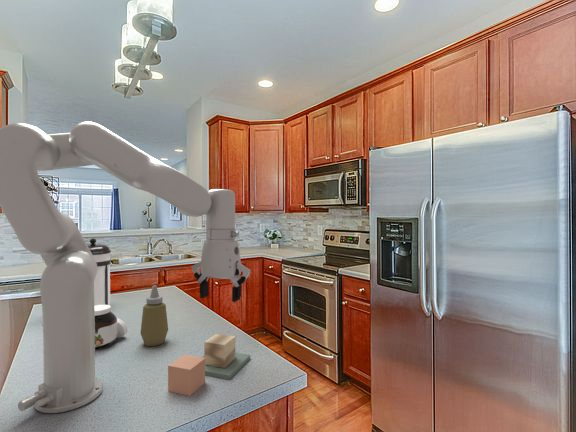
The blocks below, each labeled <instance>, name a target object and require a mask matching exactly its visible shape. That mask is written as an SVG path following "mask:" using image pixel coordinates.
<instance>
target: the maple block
mask: <svg viewBox="0 0 576 432" xmlns="http://www.w3.org/2000/svg"><path fill="white" fill-rule="evenodd" d="M203 343H204V344H203V346H204V349H203V350H204V354H203V355H204V358H205V365H210V366H216V367H221V368H225V367H226V366H227V365H228V364H229V363H231V362H232V361H233V360H234V359H235V353H236V336H234V335H227V334H222V333H221V334H220V333H216V334H214V335H213V336H211V337H209V338H208V339H206V340H205V341H204V342H203Z"/></svg>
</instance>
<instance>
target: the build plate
mask: <svg viewBox="0 0 576 432" xmlns="http://www.w3.org/2000/svg"><path fill="white" fill-rule="evenodd" d="M201 358H204V356H202V357H201ZM250 359H251V354H246V353H241V352H240V353H239V352H235V359H234V360H233V361H232V362H231V363H229V364H228V365H227V366H226V367H225V368H221V367H216V366H210V365H205V376H207V377H208V376H209V377H214V378H220V379H225V380H231V379H232V378H233V376H235V374H237V373H238V371H239V370H240V369H242V367H243V366H244V365H246V363H248V361H249V360H250Z"/></svg>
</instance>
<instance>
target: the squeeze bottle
mask: <svg viewBox="0 0 576 432" xmlns="http://www.w3.org/2000/svg"><path fill="white" fill-rule="evenodd" d="M163 297H164V296H162V295H160V294H159V291H158V286H157V284H156V285H152V287H151V291H150V294H149V296H147V297H146V304H145V305H144V306H142V316H141V323H140V325H141V326H140V336H141V338H142V341H143V344H144V345H145V346H147V347H156V346H159V345H162V344H163V343H165V341H166V338H167V335H168V332H169V323H168V315H167V306H166V304H165V303H164V302H163Z"/></svg>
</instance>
